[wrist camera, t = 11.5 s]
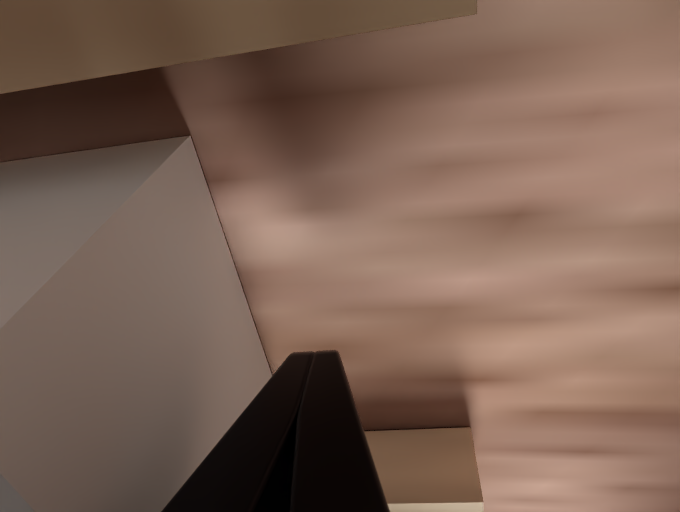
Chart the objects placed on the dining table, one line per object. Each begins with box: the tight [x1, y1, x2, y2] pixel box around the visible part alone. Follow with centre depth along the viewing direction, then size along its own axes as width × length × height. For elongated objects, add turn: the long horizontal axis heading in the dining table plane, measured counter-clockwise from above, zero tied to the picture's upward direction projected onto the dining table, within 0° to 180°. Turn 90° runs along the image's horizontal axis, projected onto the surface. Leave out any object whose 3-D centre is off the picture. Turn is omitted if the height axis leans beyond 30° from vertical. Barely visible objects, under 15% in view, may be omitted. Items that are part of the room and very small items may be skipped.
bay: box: [0, 0, 484, 512], centre depth 11 cm, size 13×20×2 cm, turn 99°
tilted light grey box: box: [0, 136, 272, 512], centre depth 9 cm, size 7×7×6 cm
